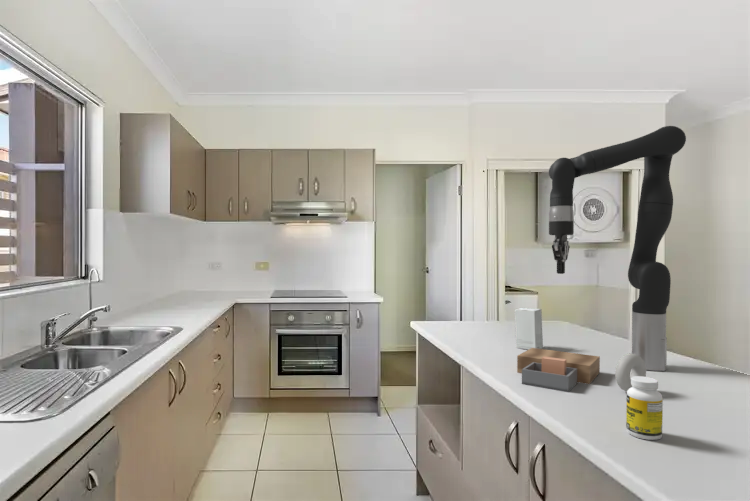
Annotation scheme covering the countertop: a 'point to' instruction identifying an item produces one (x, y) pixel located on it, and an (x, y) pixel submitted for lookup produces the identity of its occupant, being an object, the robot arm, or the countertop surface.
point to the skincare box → (528, 328)
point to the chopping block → (584, 363)
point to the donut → (629, 370)
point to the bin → (549, 378)
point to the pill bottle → (644, 409)
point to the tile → (554, 365)
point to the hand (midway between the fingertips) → (560, 273)
